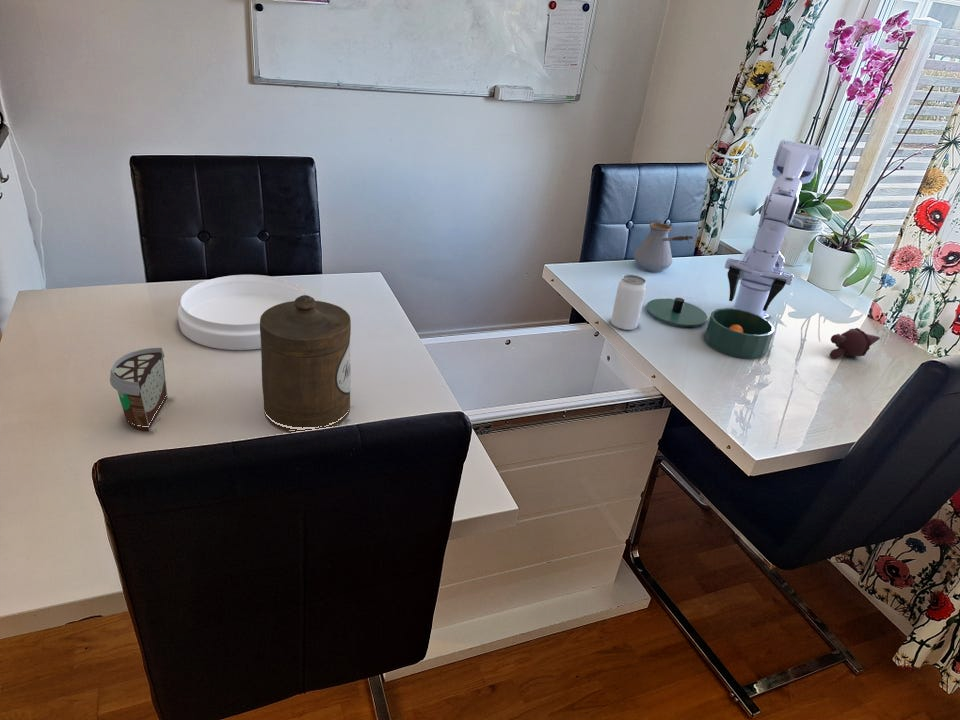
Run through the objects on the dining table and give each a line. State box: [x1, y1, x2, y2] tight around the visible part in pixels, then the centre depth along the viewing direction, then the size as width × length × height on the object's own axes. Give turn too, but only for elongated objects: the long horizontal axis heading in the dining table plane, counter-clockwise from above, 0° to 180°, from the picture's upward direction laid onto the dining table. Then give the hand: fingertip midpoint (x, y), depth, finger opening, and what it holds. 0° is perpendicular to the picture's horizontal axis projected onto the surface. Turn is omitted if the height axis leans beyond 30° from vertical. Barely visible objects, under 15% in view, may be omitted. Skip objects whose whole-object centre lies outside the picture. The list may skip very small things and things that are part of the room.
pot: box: [704, 307, 775, 360], centre depth 158 cm, size 14×14×6 cm
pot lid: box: [645, 297, 708, 328], centre depth 170 cm, size 15×15×4 cm
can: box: [610, 274, 647, 331], centre depth 160 cm, size 6×6×12 cm
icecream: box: [829, 327, 881, 359], centre depth 159 cm, size 7×7×15 cm
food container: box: [109, 347, 169, 433], centre depth 110 cm, size 12×6×10 cm, turn 5°
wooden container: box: [260, 294, 352, 433], centre depth 113 cm, size 15×15×22 cm
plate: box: [177, 274, 306, 351], centre depth 144 cm, size 27×27×6 cm
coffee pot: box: [633, 222, 696, 273], centre depth 193 cm, size 21×12×15 cm, turn 18°
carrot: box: [729, 324, 744, 333], centre depth 159 cm, size 10×4×4 cm
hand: (747, 304), depth 155 cm, fingers open, 7 cm apart
